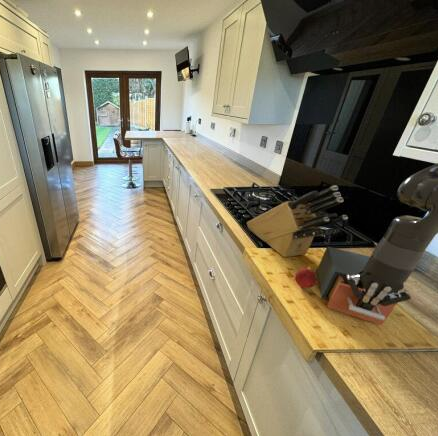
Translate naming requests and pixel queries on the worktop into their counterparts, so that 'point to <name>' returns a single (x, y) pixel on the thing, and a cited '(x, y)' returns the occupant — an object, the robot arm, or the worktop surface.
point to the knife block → (297, 222)
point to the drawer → (354, 302)
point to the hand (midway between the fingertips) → (361, 310)
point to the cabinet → (338, 267)
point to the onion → (305, 278)
